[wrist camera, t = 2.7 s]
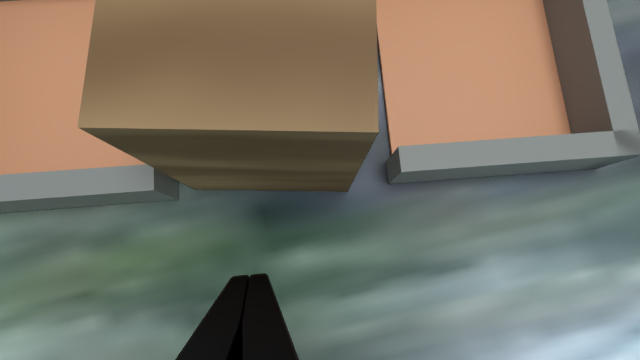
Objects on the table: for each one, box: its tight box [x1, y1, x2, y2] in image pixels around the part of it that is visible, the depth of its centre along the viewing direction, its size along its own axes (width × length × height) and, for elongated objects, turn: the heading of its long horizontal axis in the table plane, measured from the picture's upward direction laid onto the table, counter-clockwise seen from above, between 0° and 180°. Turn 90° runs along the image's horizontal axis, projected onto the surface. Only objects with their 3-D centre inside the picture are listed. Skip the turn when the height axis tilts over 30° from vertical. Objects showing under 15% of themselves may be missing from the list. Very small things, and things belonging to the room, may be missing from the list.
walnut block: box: [78, 0, 379, 192], centre depth 16 cm, size 15×8×10 cm, turn 179°
